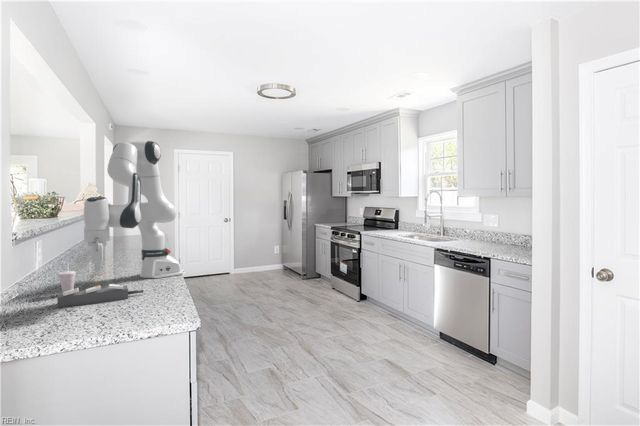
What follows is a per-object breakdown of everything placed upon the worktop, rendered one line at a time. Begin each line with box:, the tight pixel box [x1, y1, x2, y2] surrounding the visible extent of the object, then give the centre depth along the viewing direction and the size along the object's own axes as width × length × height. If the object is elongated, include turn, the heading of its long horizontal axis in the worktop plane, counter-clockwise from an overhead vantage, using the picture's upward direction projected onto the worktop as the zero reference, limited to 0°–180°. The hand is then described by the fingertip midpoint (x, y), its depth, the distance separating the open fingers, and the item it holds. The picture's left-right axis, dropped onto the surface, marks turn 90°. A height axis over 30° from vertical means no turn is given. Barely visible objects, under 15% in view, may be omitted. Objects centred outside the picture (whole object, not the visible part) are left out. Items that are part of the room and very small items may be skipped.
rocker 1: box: [63, 287, 80, 296], centre depth 144 cm, size 5×3×1 cm, turn 121°
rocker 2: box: [85, 285, 102, 293], centre depth 148 cm, size 5×3×1 cm, turn 120°
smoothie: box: [57, 262, 77, 293], centre depth 159 cm, size 6×6×14 cm
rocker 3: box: [108, 283, 124, 289], centre depth 152 cm, size 5×3×1 cm, turn 122°
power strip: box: [56, 285, 144, 309], centre depth 151 cm, size 30×7×4 cm, turn 121°
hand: (97, 271), depth 148 cm, fingers closed
